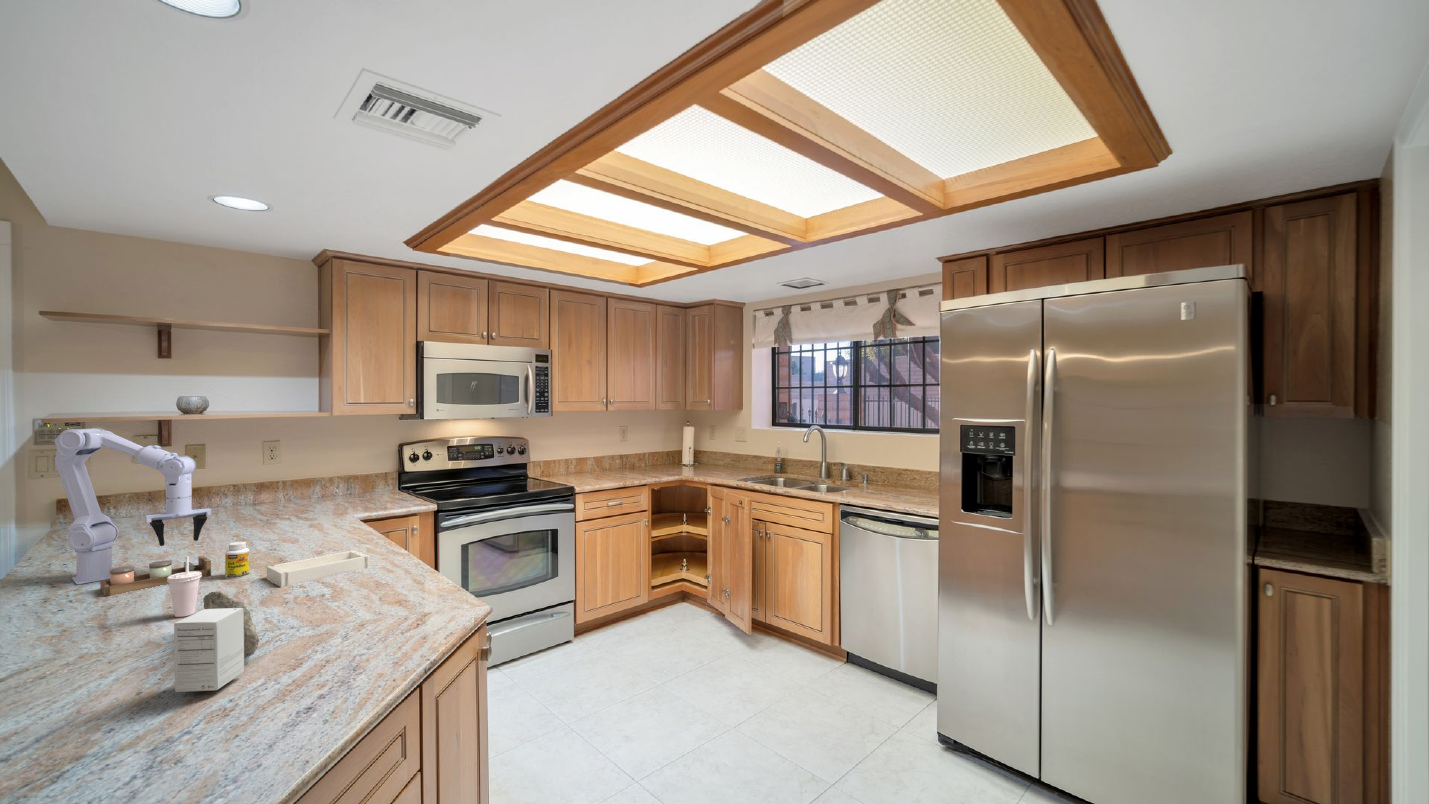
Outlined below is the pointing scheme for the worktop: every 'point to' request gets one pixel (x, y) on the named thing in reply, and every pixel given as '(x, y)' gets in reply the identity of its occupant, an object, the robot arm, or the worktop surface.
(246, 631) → the elongated rock
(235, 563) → the supplement bottle
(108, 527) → the robot arm
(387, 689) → the worktop surface
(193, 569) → the pusher
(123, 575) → the jar stock
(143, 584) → the lane
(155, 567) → the jar
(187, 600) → the smoothie
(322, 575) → the utensil tray
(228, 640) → the supplement box
